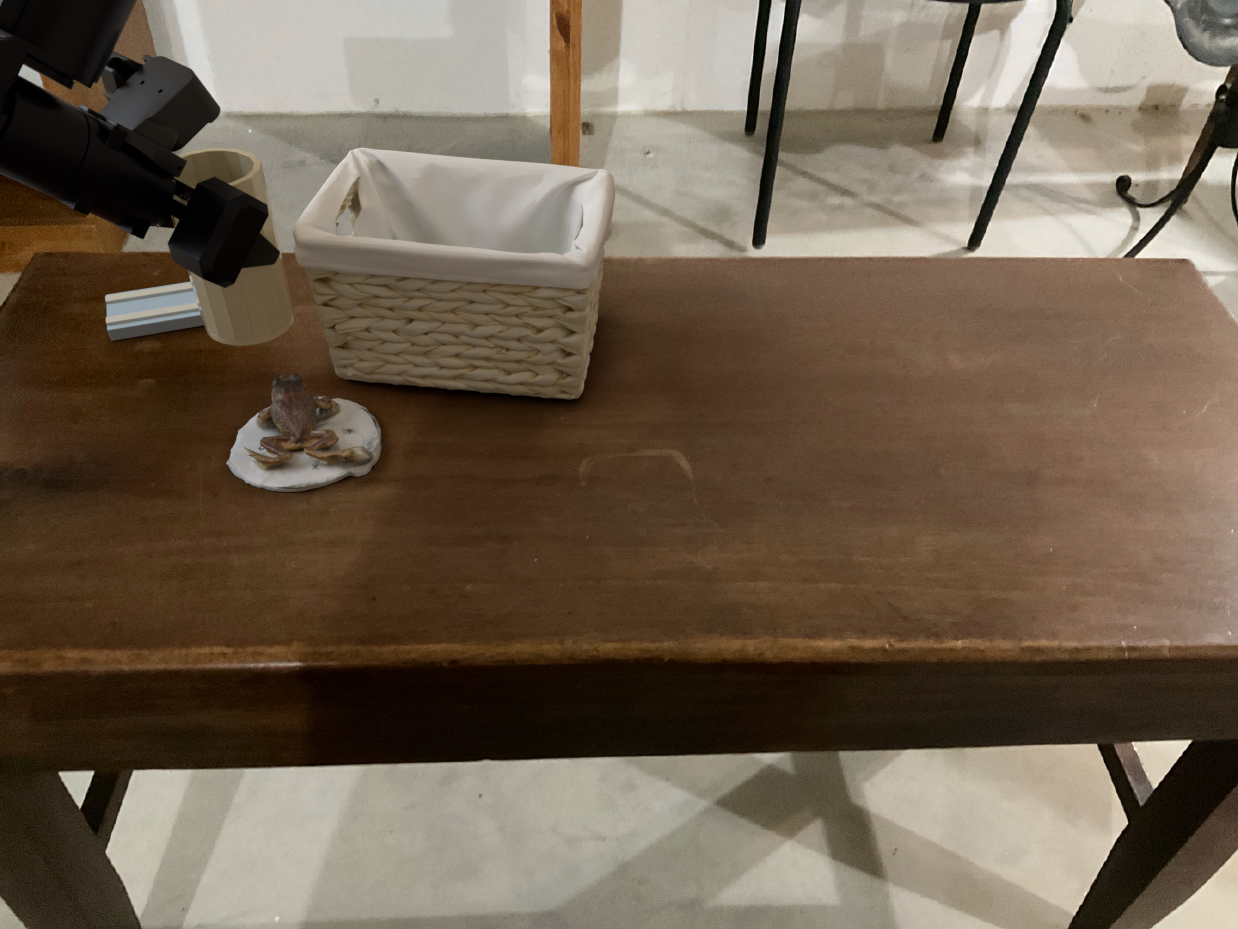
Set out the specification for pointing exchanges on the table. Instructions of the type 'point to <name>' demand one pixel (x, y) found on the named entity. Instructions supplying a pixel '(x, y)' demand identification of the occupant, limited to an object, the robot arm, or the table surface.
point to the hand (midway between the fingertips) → (246, 241)
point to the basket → (459, 270)
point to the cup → (259, 292)
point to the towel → (152, 311)
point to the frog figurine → (304, 440)
